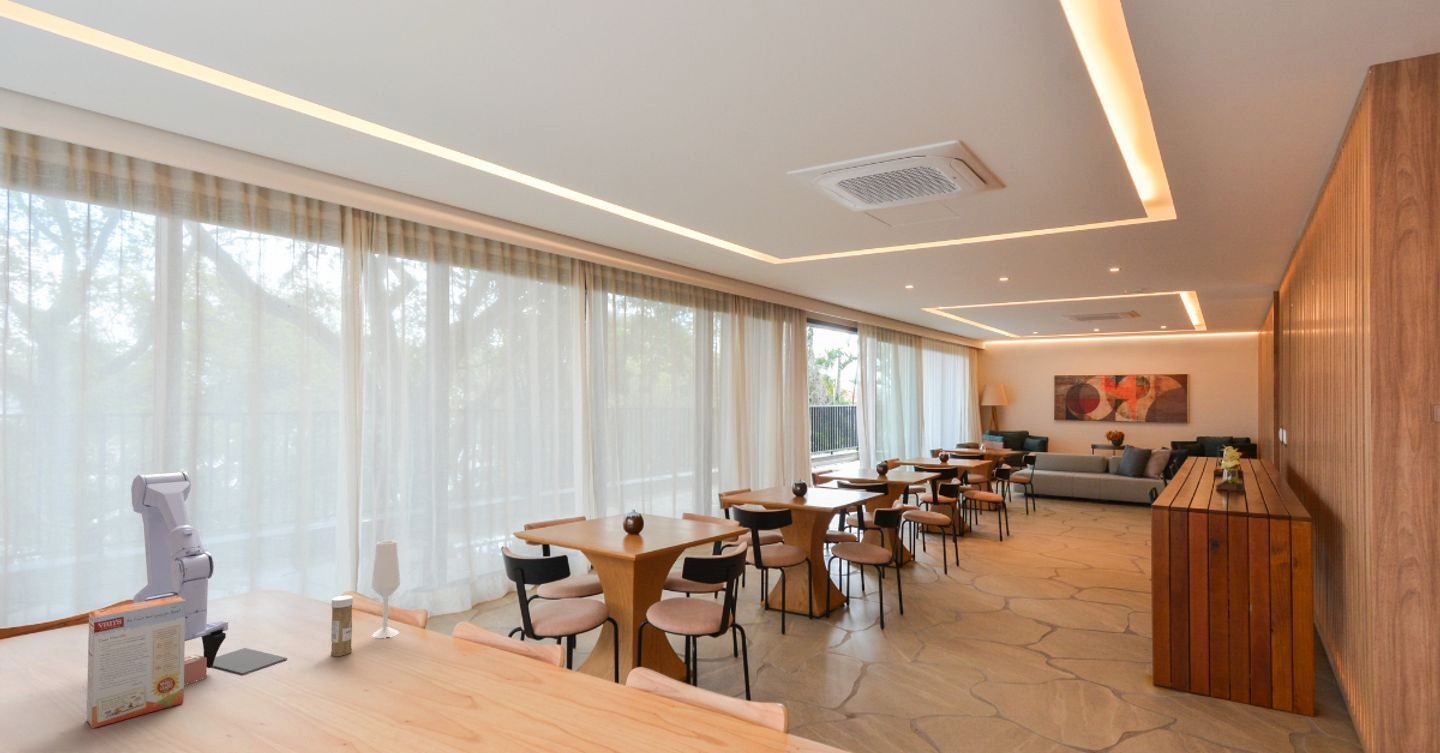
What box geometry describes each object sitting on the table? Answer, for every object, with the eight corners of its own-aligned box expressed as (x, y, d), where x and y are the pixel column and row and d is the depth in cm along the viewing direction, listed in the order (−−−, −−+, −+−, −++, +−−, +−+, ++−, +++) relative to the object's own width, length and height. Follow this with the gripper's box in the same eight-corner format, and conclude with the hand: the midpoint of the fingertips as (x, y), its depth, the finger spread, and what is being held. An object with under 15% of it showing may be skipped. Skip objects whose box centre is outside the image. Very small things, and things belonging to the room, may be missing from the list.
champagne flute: (364, 637, 176) (366, 543, 177) (384, 629, 183) (386, 538, 184) (385, 639, 174) (387, 545, 175) (405, 631, 181) (406, 540, 182)
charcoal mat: (199, 663, 158) (200, 661, 159) (244, 649, 168) (245, 647, 168) (242, 674, 152) (242, 673, 152) (287, 659, 161) (287, 657, 161)
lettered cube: (171, 682, 148) (171, 660, 148) (194, 674, 152) (194, 653, 152) (183, 685, 146) (183, 663, 146) (206, 678, 150) (206, 656, 151)
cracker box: (176, 696, 141) (179, 593, 142) (184, 704, 137) (187, 599, 138) (84, 720, 130) (88, 609, 131) (90, 730, 126) (94, 615, 127)
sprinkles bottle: (352, 654, 164) (354, 598, 165) (331, 658, 162) (332, 601, 162) (350, 648, 168) (352, 593, 169) (329, 652, 166) (330, 596, 166)
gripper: (163, 622, 142) (161, 688, 141) (237, 603, 155) (235, 664, 154) (144, 618, 145) (142, 683, 144) (218, 600, 158) (216, 659, 157)
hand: (189, 673), depth 149 cm, fingers open, 7 cm apart
